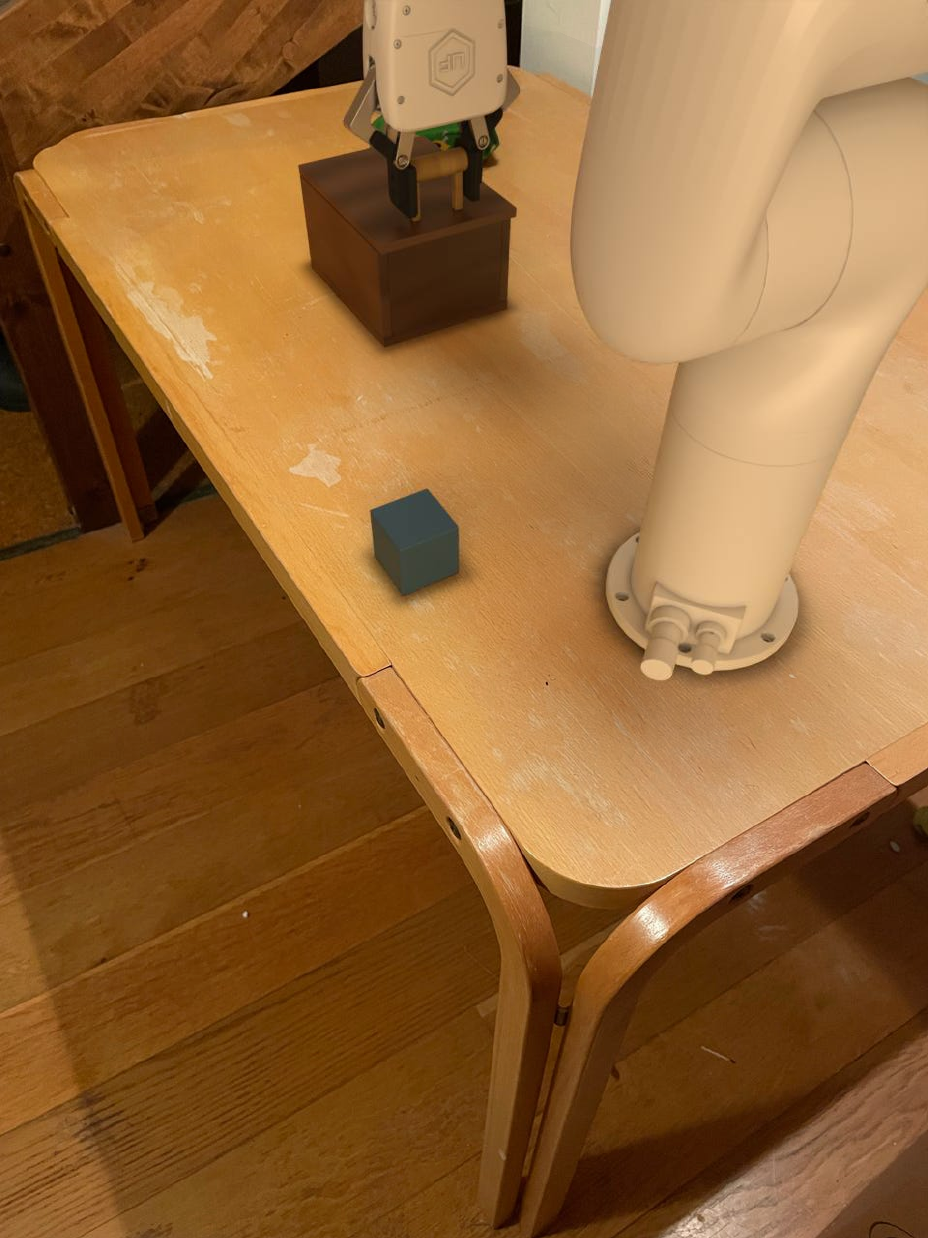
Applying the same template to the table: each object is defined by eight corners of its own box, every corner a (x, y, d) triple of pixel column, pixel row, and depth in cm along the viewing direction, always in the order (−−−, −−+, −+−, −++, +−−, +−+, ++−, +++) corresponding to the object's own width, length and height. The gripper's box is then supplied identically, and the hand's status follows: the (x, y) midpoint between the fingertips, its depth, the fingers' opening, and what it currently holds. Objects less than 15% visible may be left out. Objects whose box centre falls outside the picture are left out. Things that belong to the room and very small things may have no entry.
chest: (507, 308, 83) (511, 213, 76) (384, 347, 79) (376, 251, 72) (426, 235, 92) (423, 144, 85) (311, 266, 88) (299, 174, 81)
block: (459, 572, 62) (459, 527, 58) (403, 596, 60) (399, 551, 57) (429, 533, 64) (427, 487, 61) (374, 555, 63) (369, 509, 59)
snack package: (360, 153, 104) (356, 105, 100) (491, 141, 106) (492, 93, 102) (369, 181, 99) (365, 132, 95) (505, 168, 102) (507, 119, 97)
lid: (516, 216, 76) (520, 147, 71) (381, 254, 72) (376, 184, 67) (423, 143, 85) (421, 78, 81) (299, 173, 81) (290, 106, 76)
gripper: (338, -36, 55) (363, 248, 69) (568, -73, 60) (547, 197, 74) (290, -65, 59) (322, 208, 73) (509, -97, 64) (500, 163, 78)
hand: (436, 200), depth 73 cm, fingers closed on lid, 5 cm apart
